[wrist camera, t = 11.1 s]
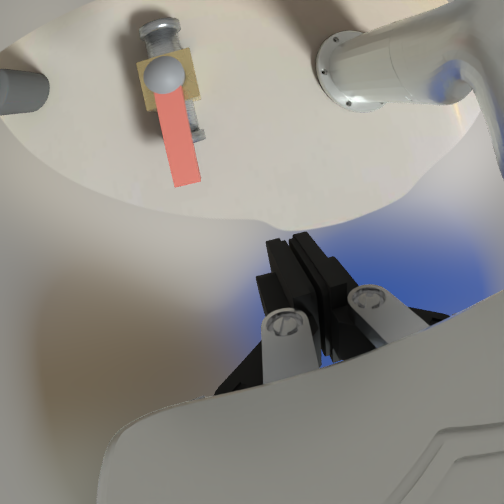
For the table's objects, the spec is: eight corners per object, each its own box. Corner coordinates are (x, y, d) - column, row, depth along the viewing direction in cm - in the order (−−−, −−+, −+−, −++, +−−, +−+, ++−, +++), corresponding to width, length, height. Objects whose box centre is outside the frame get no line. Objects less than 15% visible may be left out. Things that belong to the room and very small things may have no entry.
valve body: (184, 25, 29) (181, 10, 23) (209, 136, 36) (210, 139, 31) (139, 37, 28) (128, 25, 23) (164, 148, 36) (157, 153, 30)
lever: (146, 66, 26) (140, 62, 23) (182, 57, 26) (180, 51, 23) (171, 184, 32) (168, 191, 29) (206, 176, 32) (206, 182, 29)
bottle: (28, 70, 26) (-37, 64, 13) (55, 77, 28) (-8, 70, 15) (14, 107, 28) (-52, 116, 15) (41, 116, 30) (-25, 125, 17)
